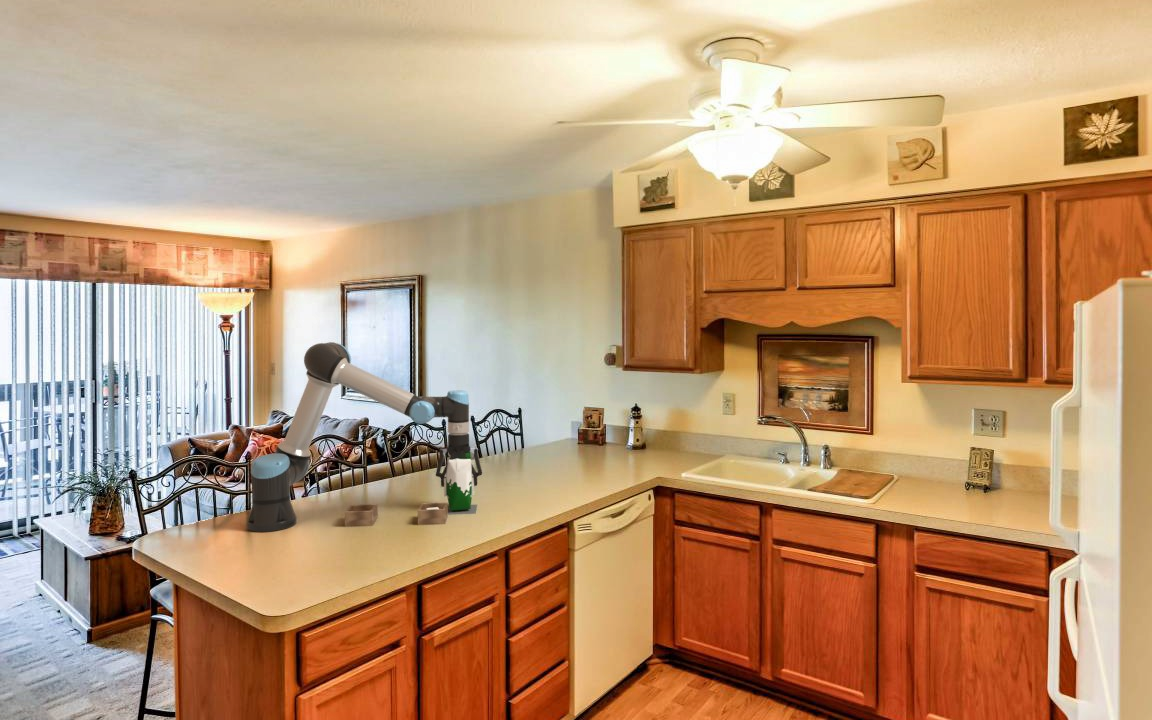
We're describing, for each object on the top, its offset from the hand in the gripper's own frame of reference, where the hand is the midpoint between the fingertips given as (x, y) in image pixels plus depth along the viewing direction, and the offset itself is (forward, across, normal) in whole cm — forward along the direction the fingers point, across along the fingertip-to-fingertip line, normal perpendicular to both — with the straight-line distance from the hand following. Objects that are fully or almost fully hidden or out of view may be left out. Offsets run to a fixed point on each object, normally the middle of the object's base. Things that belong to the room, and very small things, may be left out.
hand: (459, 495), depth 237 cm
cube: (+5, -8, -13) cm, 16 cm away
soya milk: (+5, 0, 0) cm, 5 cm away
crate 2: (+6, -8, -13) cm, 16 cm away
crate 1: (+6, -32, -12) cm, 35 cm away
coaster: (+6, 0, 0) cm, 6 cm away
